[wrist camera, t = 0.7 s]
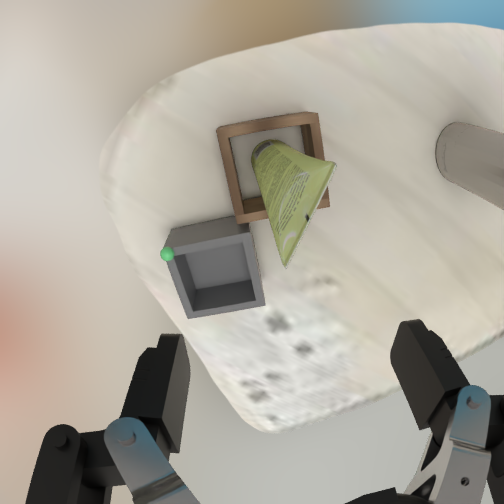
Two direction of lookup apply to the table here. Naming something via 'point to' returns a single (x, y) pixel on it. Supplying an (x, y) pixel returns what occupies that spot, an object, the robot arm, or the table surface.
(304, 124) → the brown wooden square frame
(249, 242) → the socket block
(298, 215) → the tube
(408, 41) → the table surface
